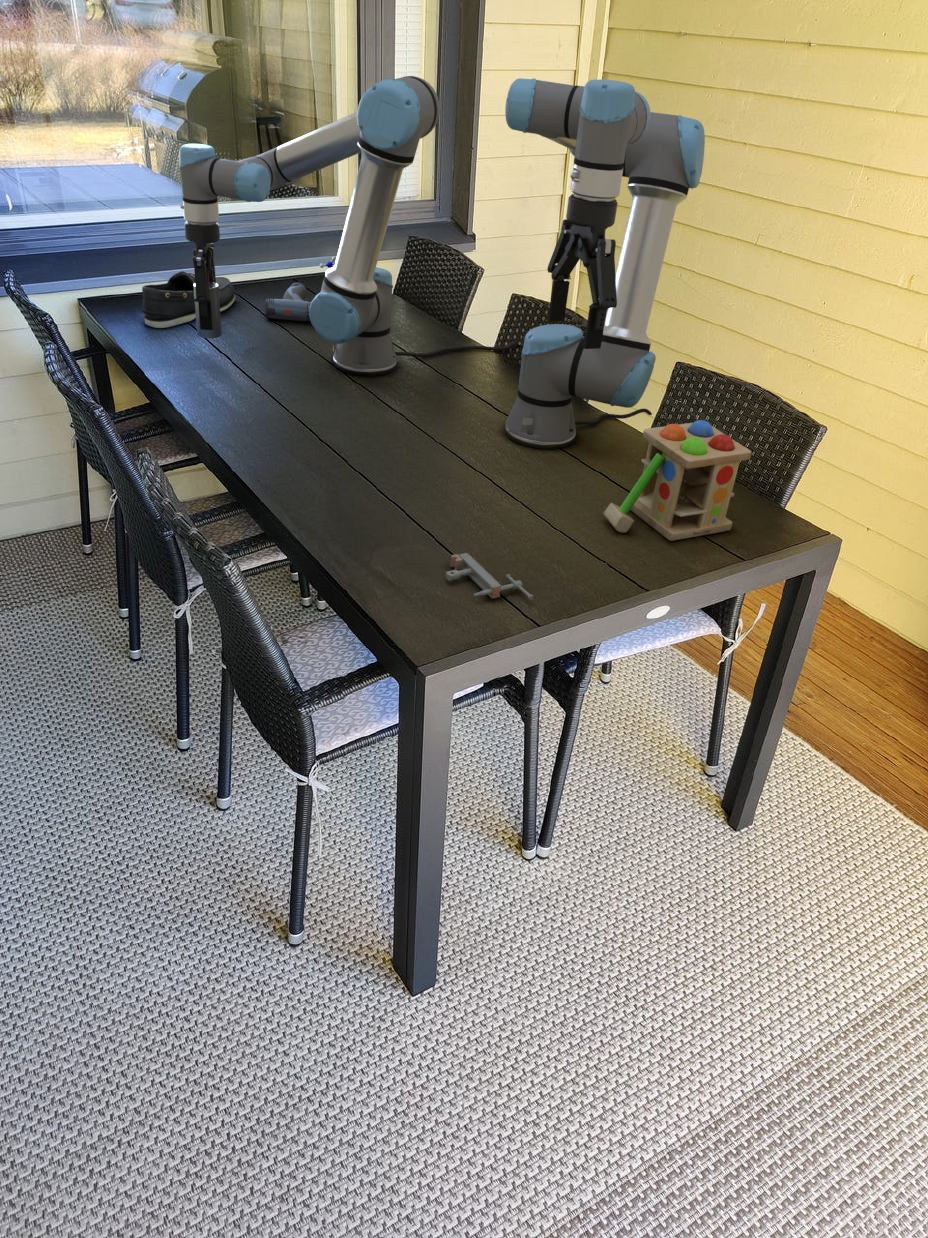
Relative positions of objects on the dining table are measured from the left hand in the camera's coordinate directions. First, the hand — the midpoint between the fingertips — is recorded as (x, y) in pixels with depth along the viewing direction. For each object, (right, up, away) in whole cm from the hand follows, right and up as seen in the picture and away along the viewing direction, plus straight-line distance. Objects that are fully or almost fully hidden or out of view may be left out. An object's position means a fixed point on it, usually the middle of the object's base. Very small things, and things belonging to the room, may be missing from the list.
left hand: (208, 324), depth 231 cm
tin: (0, -2, +1) cm, 2 cm away
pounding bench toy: (+97, -51, -47) cm, 119 cm away
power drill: (+17, +14, +36) cm, 43 cm away
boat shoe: (-12, +12, +29) cm, 34 cm away
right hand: (+78, -22, -69) cm, 107 cm away
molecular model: (+23, +29, +59) cm, 70 cm away
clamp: (+63, -64, -71) cm, 115 cm away
